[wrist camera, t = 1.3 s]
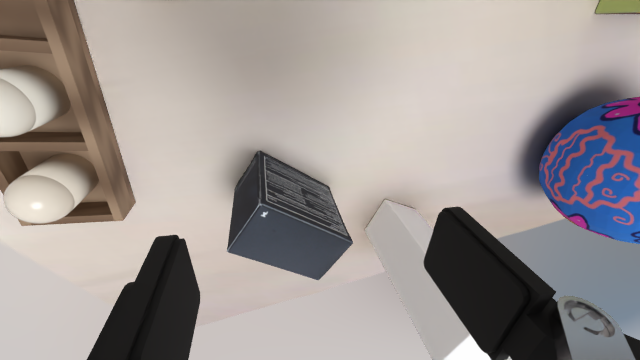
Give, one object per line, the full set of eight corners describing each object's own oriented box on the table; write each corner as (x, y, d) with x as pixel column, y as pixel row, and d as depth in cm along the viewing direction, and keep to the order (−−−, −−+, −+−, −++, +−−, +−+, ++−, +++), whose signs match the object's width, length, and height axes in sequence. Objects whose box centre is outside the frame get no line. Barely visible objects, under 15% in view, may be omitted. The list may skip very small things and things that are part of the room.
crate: (-119, -113, 17) (-195, -141, 14) (46, -87, 18) (9, -106, 16) (44, 206, 28) (21, 225, 26) (135, 202, 30) (123, 220, 27)
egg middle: (-6, 63, 21) (-101, 77, 16) (59, 67, 22) (-7, 81, 17) (19, 117, 23) (-55, 146, 18) (78, 118, 24) (25, 146, 19)
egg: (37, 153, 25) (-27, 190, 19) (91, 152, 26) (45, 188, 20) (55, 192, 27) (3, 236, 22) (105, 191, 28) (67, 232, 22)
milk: (363, 229, 40) (455, 411, 21) (384, 197, 37) (509, 369, 19) (395, 238, 42) (503, 409, 23) (417, 208, 40) (556, 371, 21)
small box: (231, 191, 32) (221, 255, 23) (258, 148, 30) (258, 200, 21) (303, 221, 37) (318, 284, 28) (330, 186, 35) (356, 241, 26)
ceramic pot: (579, 192, 46) (702, 257, 33) (493, 196, 42) (596, 270, 29) (649, 87, 37) (852, 120, 25) (550, 79, 33) (731, 113, 21)
